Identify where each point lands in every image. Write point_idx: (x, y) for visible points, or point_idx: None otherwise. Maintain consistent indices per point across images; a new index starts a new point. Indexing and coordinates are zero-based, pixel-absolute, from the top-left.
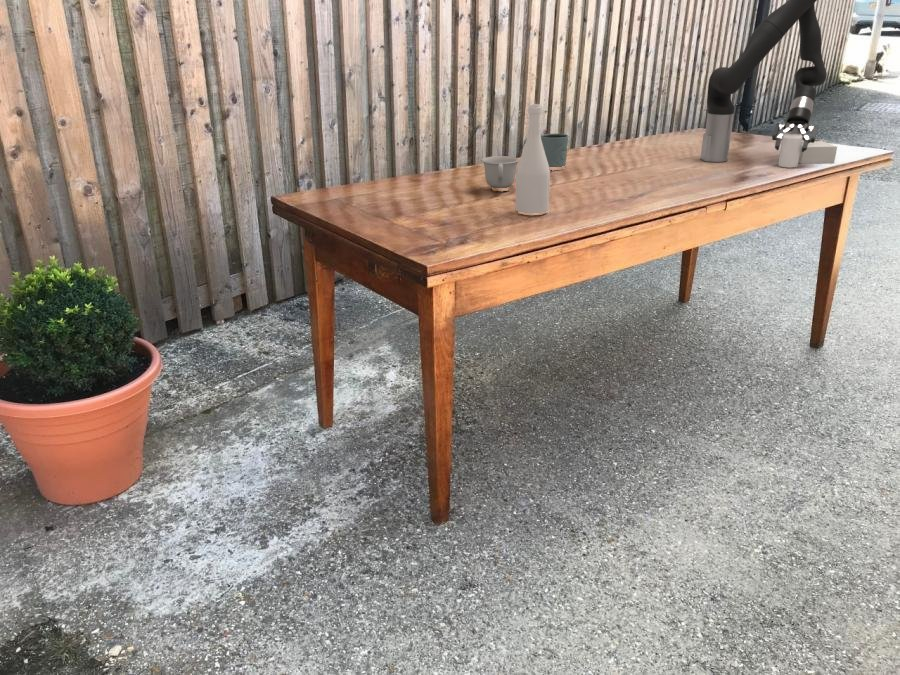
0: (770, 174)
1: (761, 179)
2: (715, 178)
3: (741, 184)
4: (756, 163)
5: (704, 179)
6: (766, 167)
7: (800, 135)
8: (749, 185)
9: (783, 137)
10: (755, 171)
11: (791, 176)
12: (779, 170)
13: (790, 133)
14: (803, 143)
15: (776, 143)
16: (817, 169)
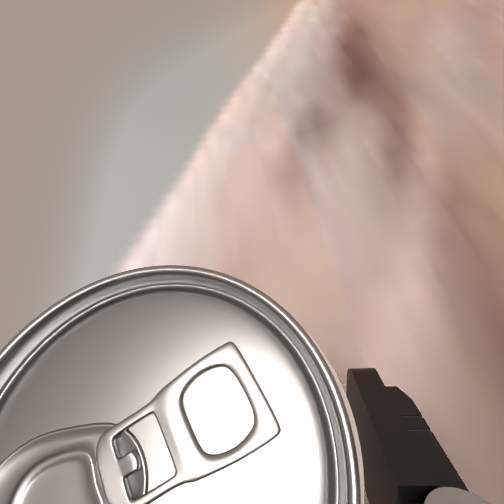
0: (284, 163)
1: (293, 80)
2: (440, 37)
3: (328, 15)
4: (500, 477)
5: (461, 17)
6: (361, 330)
7: (13, 380)
8: (302, 15)
9: (325, 357)
10: (370, 193)
11: (192, 165)
12: (265, 270)
13: (210, 451)
14: None
15: (408, 421)
16: None
